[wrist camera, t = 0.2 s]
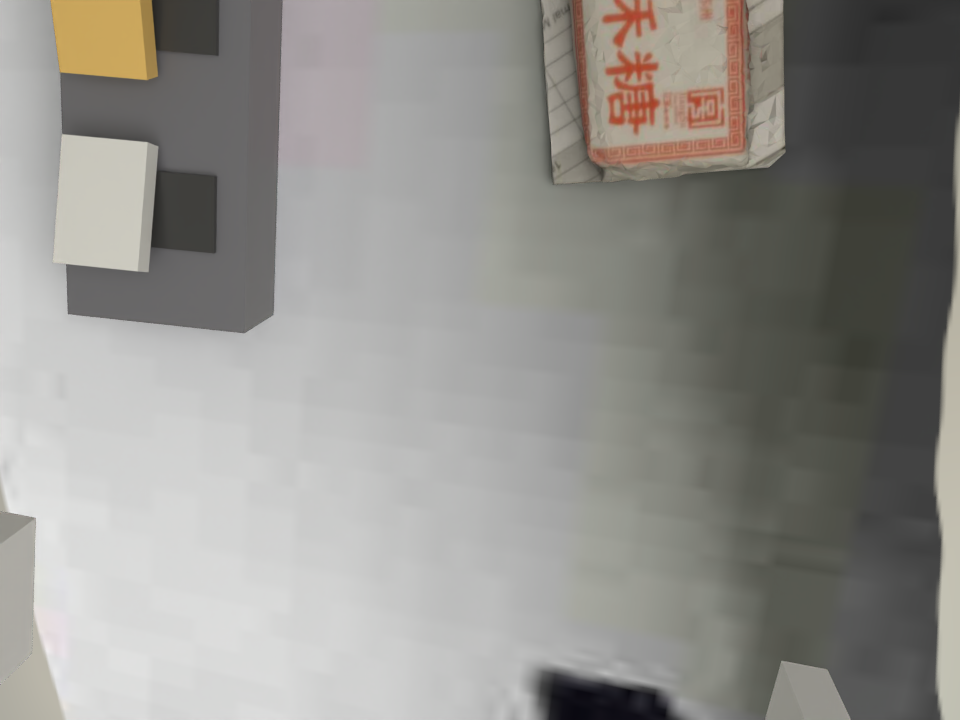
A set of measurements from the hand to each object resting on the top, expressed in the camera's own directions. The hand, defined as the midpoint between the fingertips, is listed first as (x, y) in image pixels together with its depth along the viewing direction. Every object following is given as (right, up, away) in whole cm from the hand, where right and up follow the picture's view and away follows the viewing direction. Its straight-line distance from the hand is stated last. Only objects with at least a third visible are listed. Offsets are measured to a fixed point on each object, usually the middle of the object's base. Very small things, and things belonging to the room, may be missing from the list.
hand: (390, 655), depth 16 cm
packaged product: (+9, +22, +23) cm, 33 cm away
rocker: (-14, +12, +22) cm, 29 cm away
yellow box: (-13, +19, +20) cm, 31 cm away
